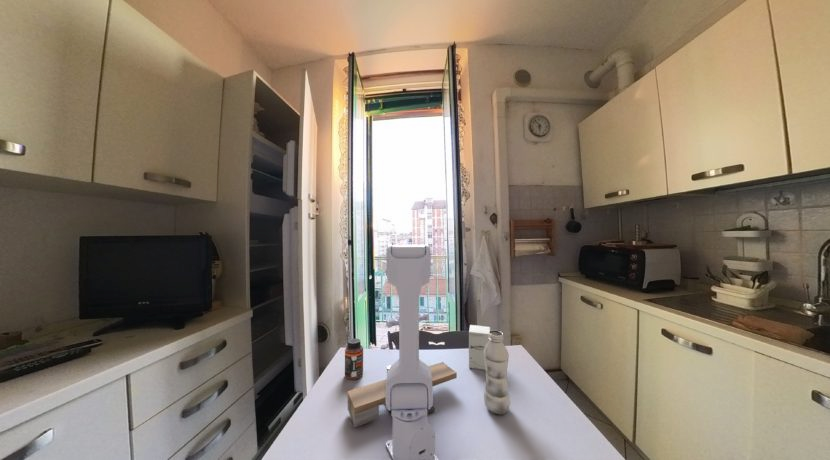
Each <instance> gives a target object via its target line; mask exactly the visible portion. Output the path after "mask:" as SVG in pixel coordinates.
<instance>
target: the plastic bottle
mask: <svg viewBox="0 0 830 460" xmlns="http://www.w3.org/2000/svg"><path fill="white" fill-rule="evenodd" d="M488 339H489V342H488V343H487V344H486V346H485V348H484V359H485V366H486V370H485V387H484V392H483V400H484V405H485V406H486V408H487V409H488V411H490V413H493V414H496V415H504V414H506V413H507V412H508V411H509V409H510V405H511V400H510V394H509V388H508V387H509V386H508V366H509V358H510V357H509V356H510V354H509V351H508V349H507V347H506V346H505V344H504V343H503V342H504V333H503V332H502V331H499V330H496V329H495V330H494V329H490V331H489V337H488Z"/></svg>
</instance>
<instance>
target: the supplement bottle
mask: <svg viewBox="0 0 830 460" xmlns="http://www.w3.org/2000/svg"><path fill="white" fill-rule="evenodd" d="M361 344H362V343H361V339H360V338H351V339H349V340H348V341H347V347H345V349H344V377H345V378H346V379H347V380H351V381H352V380H358V379H359V378H361V377H362V376H363V374H364V346H362V345H361Z"/></svg>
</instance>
